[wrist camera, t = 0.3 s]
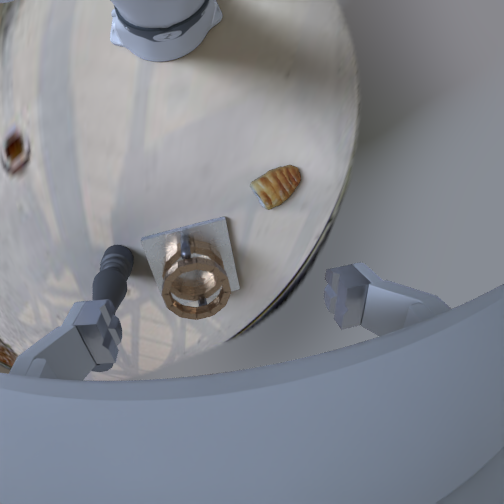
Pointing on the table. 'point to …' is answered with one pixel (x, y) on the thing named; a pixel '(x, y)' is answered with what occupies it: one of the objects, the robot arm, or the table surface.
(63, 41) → the table surface
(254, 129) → the table surface
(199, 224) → the collar stand
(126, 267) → the candle holder
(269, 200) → the pastry
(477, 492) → the robot arm
